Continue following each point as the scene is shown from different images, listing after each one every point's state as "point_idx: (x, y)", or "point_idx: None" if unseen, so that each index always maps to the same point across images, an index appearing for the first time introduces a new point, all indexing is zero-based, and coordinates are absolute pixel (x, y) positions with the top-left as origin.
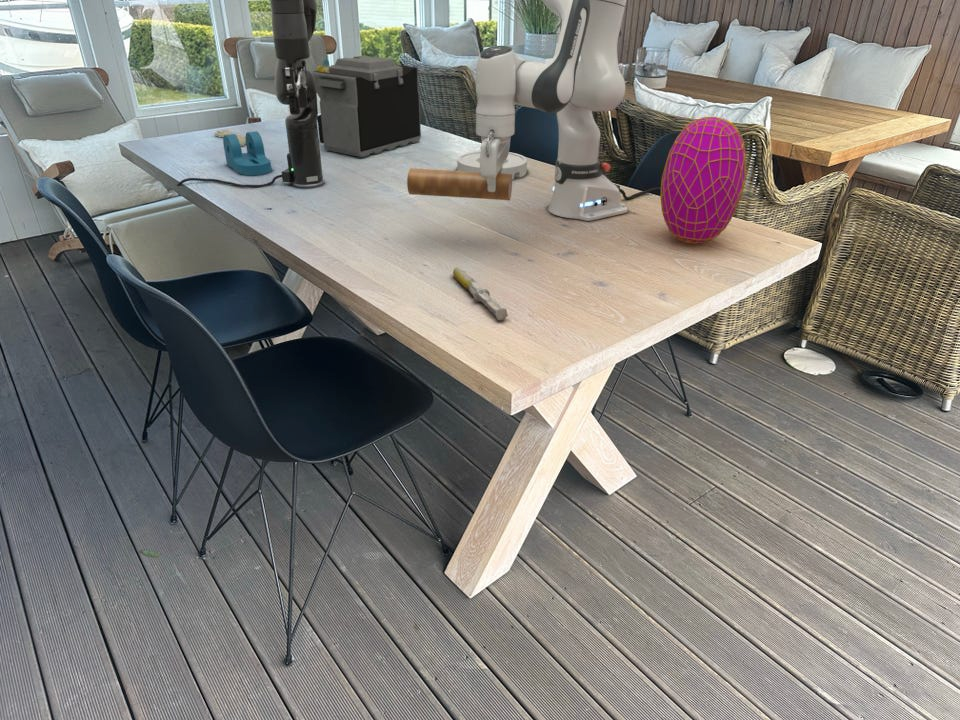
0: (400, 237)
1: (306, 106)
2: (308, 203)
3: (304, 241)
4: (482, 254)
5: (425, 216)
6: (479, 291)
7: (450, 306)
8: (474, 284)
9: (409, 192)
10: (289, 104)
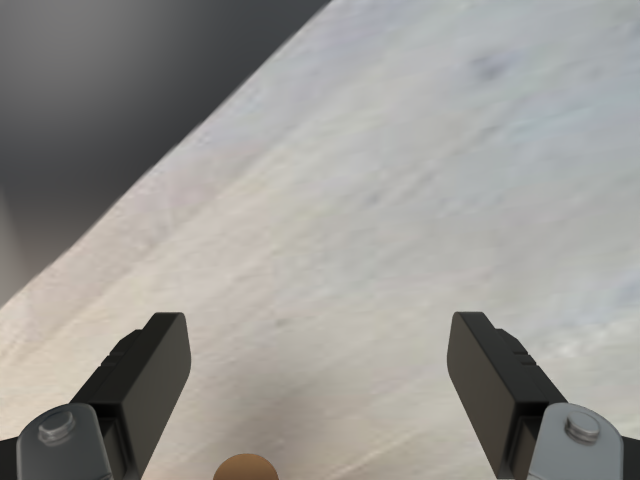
0: (292, 346)
1: (450, 368)
2: (563, 101)
3: (255, 154)
4: (218, 465)
5: (419, 381)
6: None
7: (7, 428)
8: None
9: (226, 461)
10: (124, 358)
